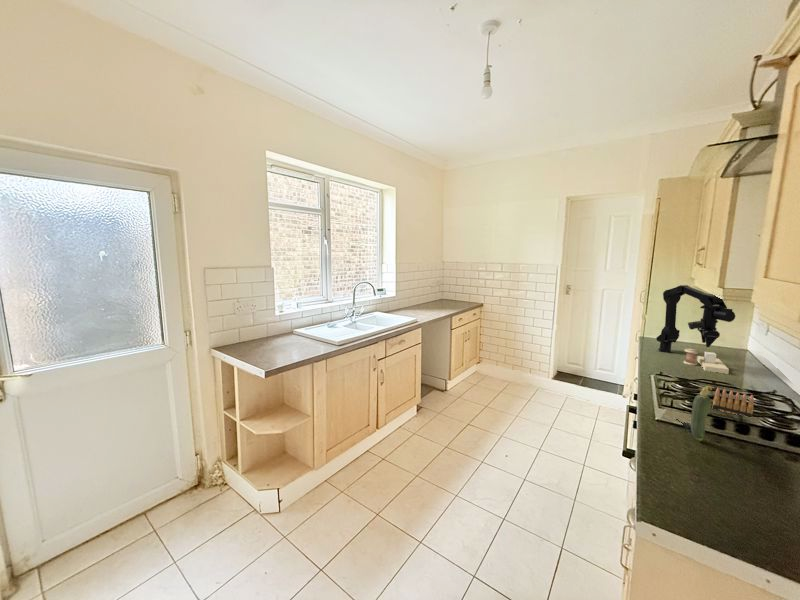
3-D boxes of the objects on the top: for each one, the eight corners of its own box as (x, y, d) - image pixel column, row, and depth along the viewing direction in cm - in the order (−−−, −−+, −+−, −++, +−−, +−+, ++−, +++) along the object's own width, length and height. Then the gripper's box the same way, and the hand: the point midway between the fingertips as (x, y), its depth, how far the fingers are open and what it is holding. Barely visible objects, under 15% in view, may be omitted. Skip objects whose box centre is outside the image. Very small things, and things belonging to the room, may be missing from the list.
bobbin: (682, 361, 186) (683, 348, 184) (696, 363, 182) (697, 349, 181) (684, 364, 181) (685, 350, 179) (698, 366, 177) (700, 352, 176)
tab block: (712, 364, 178) (714, 352, 176) (714, 367, 174) (716, 354, 173) (703, 363, 180) (704, 351, 179) (704, 365, 177) (706, 353, 175)
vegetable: (685, 437, 111) (693, 383, 108) (692, 434, 112) (700, 380, 109) (701, 444, 107) (709, 388, 103) (708, 441, 108) (716, 385, 105)
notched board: (697, 360, 187) (697, 355, 187) (718, 363, 182) (718, 358, 182) (704, 370, 171) (705, 366, 170) (728, 374, 166) (728, 369, 165)
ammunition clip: (750, 425, 118) (756, 394, 116) (751, 427, 117) (756, 396, 115) (710, 414, 125) (715, 386, 124) (710, 416, 124) (714, 387, 122)
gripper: (687, 313, 187) (683, 338, 190) (693, 319, 172) (689, 346, 175) (713, 315, 181) (708, 341, 184) (722, 321, 166) (717, 350, 169)
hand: (705, 344), depth 178 cm, fingers open, 9 cm apart
